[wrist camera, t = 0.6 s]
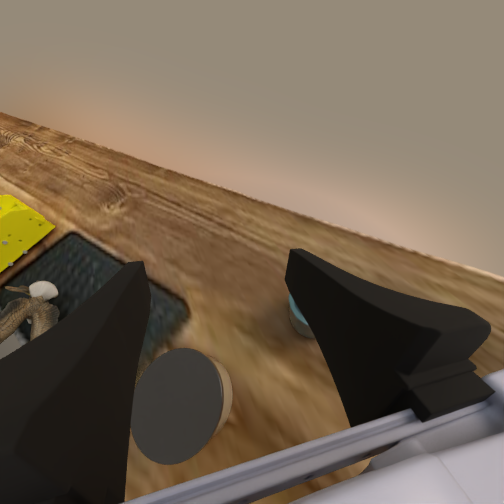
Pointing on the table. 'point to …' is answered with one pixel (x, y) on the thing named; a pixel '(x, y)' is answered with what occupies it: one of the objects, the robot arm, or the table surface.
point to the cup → (298, 320)
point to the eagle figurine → (30, 310)
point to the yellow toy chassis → (19, 229)
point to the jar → (180, 405)
